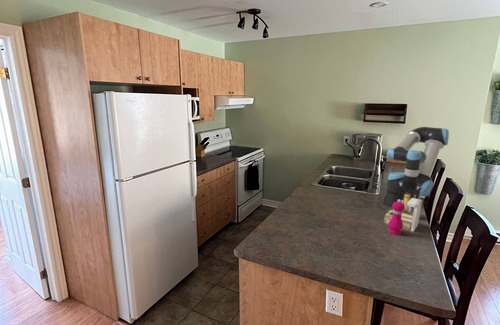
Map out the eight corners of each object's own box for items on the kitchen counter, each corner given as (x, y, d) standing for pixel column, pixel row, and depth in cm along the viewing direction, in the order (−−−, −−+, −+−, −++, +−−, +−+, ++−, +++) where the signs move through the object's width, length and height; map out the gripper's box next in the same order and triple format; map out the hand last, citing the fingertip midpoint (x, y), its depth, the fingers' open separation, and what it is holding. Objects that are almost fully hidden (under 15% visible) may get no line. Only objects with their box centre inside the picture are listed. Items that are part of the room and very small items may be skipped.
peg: (402, 212, 176) (405, 192, 173) (409, 214, 174) (412, 194, 170) (400, 214, 173) (403, 194, 170) (407, 216, 171) (410, 195, 167)
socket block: (389, 216, 174) (390, 209, 173) (414, 223, 165) (415, 216, 163) (383, 222, 165) (384, 215, 164) (409, 230, 156) (410, 222, 155)
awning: (407, 222, 167) (411, 197, 163) (418, 224, 163) (422, 200, 160) (402, 228, 158) (406, 203, 155) (413, 231, 155) (417, 205, 151)
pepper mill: (394, 236, 149) (399, 202, 145) (384, 230, 156) (389, 197, 151) (404, 234, 151) (410, 201, 146) (394, 228, 158) (399, 196, 153)
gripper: (394, 173, 170) (389, 208, 176) (425, 179, 159) (419, 216, 164) (397, 171, 175) (392, 204, 181) (428, 176, 164) (422, 212, 170)
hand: (405, 210), depth 173 cm, fingers closed on peg, 4 cm apart
